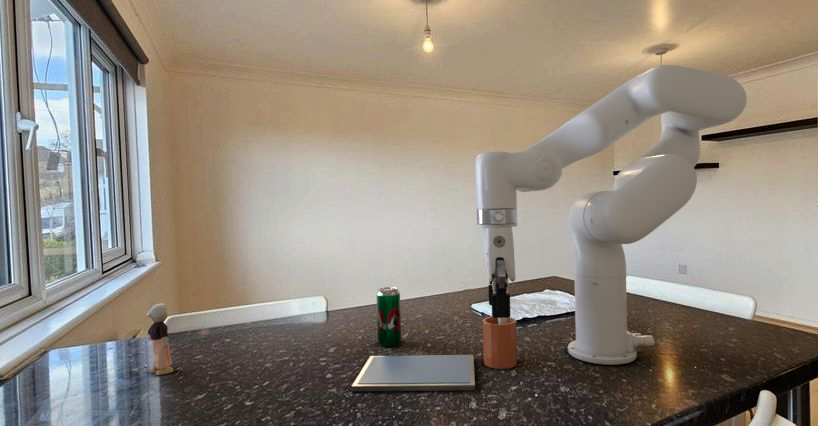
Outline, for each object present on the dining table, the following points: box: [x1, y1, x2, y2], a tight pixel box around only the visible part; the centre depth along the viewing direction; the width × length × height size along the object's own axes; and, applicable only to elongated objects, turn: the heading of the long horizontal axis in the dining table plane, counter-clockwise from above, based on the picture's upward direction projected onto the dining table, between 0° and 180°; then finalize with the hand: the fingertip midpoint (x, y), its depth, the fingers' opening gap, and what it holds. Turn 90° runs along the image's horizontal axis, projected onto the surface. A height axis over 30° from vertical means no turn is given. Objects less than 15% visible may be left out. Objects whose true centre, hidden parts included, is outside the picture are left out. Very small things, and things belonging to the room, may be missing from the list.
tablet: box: [351, 354, 476, 393], centre depth 76 cm, size 20×14×1 cm
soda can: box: [376, 286, 402, 348], centre depth 93 cm, size 5×5×12 cm
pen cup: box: [482, 316, 518, 370], centre depth 80 cm, size 6×6×8 cm
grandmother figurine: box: [145, 303, 175, 376], centre depth 81 cm, size 8×4×13 cm, turn 65°
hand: (499, 310), depth 80 cm, fingers open, 9 cm apart
